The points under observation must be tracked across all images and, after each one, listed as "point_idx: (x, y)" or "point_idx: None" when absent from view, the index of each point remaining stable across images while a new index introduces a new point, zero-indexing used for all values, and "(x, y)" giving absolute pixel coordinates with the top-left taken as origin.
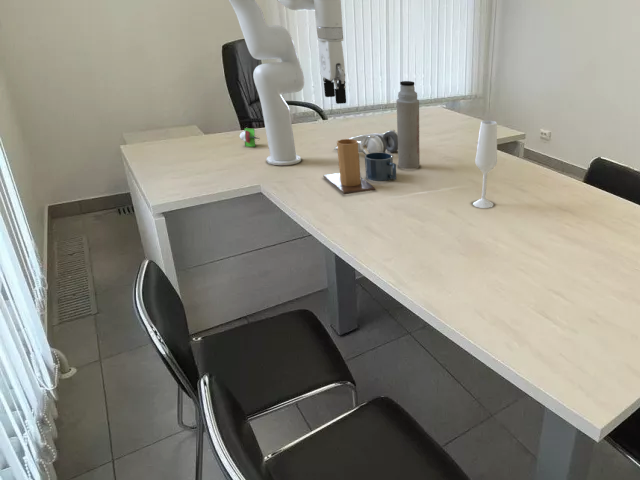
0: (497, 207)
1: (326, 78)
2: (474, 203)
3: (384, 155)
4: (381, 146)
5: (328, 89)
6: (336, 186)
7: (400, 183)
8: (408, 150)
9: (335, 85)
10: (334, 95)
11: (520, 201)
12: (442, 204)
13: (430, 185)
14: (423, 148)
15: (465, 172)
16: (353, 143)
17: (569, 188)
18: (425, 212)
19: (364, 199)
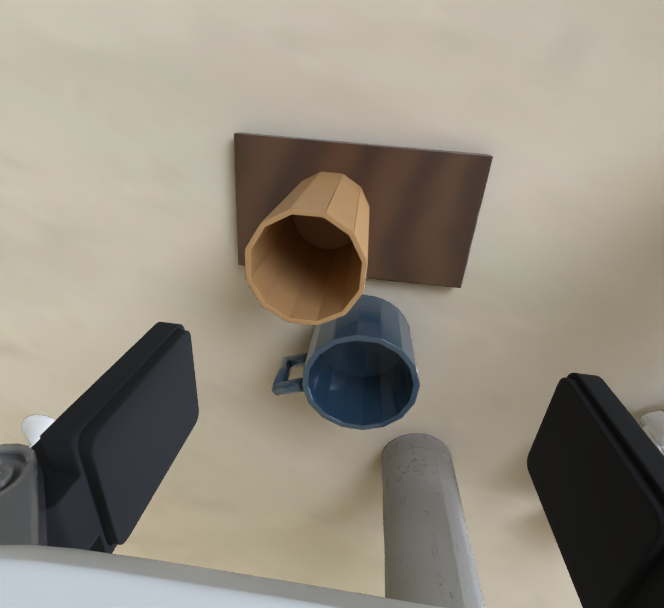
0: None
1: (232, 584)
2: (48, 422)
3: (386, 414)
4: None
5: (588, 476)
6: (319, 140)
7: None
8: (390, 496)
9: (14, 496)
10: (528, 466)
11: None
12: (68, 362)
13: (229, 418)
14: (553, 570)
15: (291, 530)
16: (329, 307)
17: None
18: (13, 293)
19: (176, 186)
